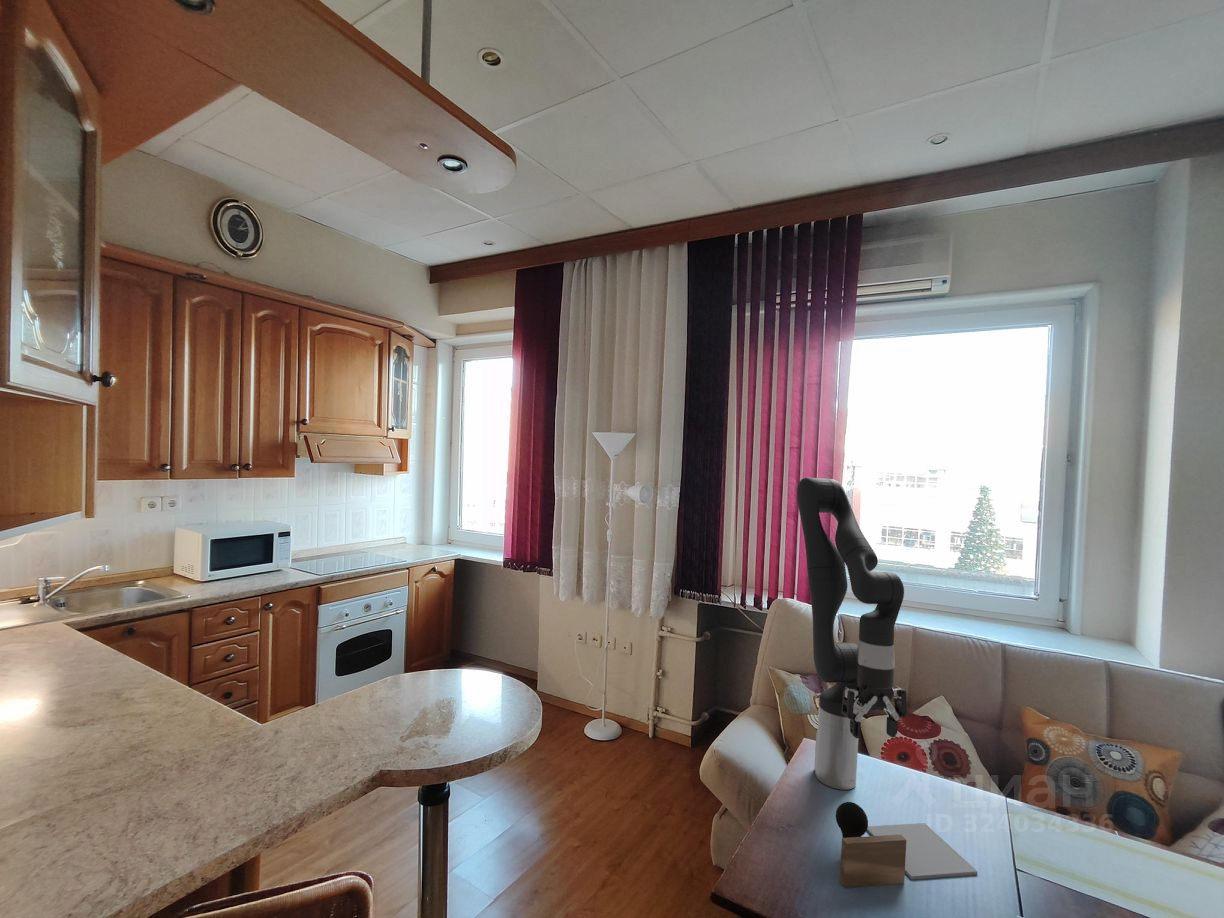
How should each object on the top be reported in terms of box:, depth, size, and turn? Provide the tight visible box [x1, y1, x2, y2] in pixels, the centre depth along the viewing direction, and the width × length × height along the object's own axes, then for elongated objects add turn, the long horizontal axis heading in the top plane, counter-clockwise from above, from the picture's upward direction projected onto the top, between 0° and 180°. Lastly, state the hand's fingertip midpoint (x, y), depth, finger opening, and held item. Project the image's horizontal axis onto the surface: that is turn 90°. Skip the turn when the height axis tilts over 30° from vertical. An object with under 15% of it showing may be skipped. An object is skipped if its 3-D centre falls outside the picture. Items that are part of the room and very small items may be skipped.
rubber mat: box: [866, 822, 978, 880], centre depth 111 cm, size 14×14×1 cm
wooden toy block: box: [839, 834, 906, 889], centre depth 102 cm, size 2×12×8 cm, turn 99°
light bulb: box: [835, 801, 869, 838], centre depth 109 cm, size 6×6×10 cm
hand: (873, 736), depth 122 cm, fingers open, 8 cm apart
